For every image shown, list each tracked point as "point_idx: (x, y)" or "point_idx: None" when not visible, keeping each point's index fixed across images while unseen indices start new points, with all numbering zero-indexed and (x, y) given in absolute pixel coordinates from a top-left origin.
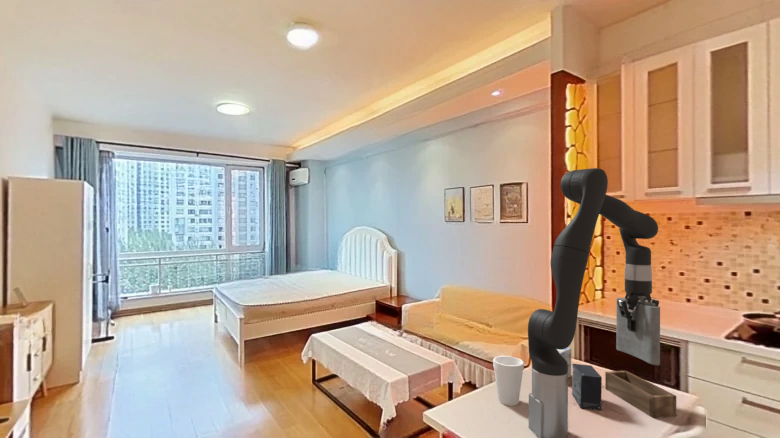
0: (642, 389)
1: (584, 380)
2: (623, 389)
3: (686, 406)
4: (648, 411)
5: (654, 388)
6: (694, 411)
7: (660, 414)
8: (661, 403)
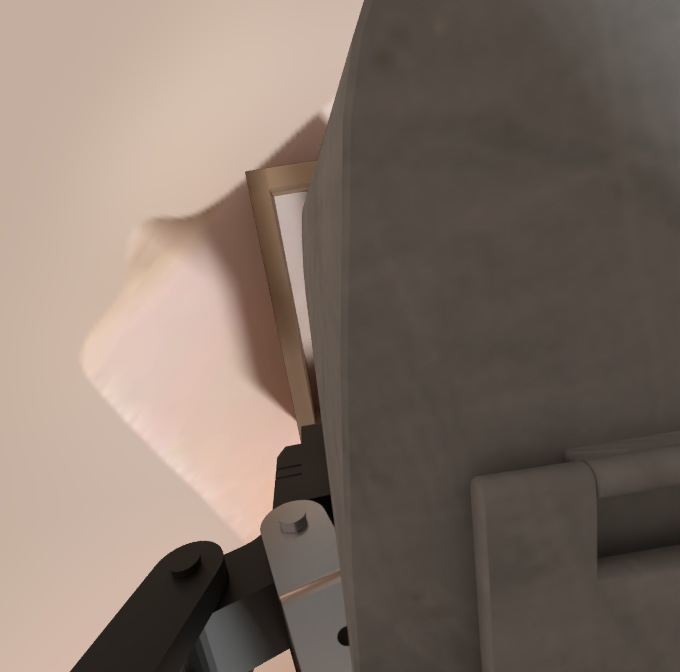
0: (299, 337)
1: None
2: None
3: (153, 269)
4: None
5: (286, 276)
6: (148, 225)
7: None
8: None
